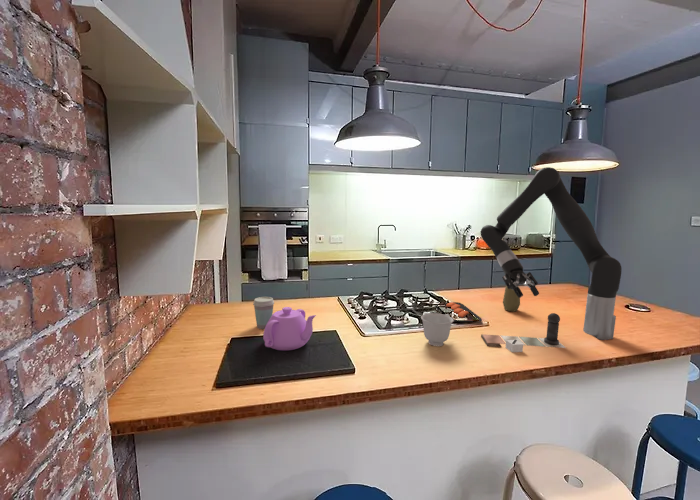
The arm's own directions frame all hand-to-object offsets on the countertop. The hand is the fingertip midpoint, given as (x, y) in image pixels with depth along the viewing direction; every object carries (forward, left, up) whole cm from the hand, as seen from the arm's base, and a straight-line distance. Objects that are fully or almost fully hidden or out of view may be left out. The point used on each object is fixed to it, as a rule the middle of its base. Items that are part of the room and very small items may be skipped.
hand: (529, 295), depth 138 cm
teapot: (+91, +26, -17) cm, 96 cm away
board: (+5, +10, -16) cm, 20 cm away
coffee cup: (+108, +10, -17) cm, 110 cm away
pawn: (-5, +10, -15) cm, 19 cm away
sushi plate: (+31, -22, -17) cm, 42 cm away
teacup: (+37, +14, -17) cm, 43 cm away
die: (+11, +19, -16) cm, 28 cm away
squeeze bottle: (-5, -34, -17) cm, 38 cm away
